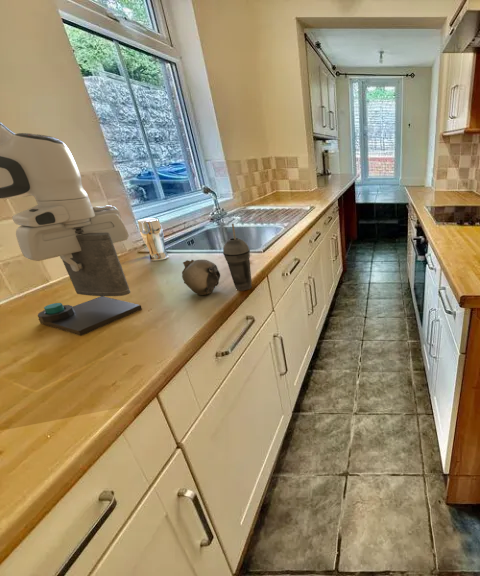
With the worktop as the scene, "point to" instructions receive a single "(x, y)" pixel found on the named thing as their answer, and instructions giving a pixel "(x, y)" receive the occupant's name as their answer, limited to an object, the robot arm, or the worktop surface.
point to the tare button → (54, 308)
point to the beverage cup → (238, 262)
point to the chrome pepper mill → (153, 238)
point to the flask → (97, 266)
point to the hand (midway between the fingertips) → (90, 266)
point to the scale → (88, 315)
